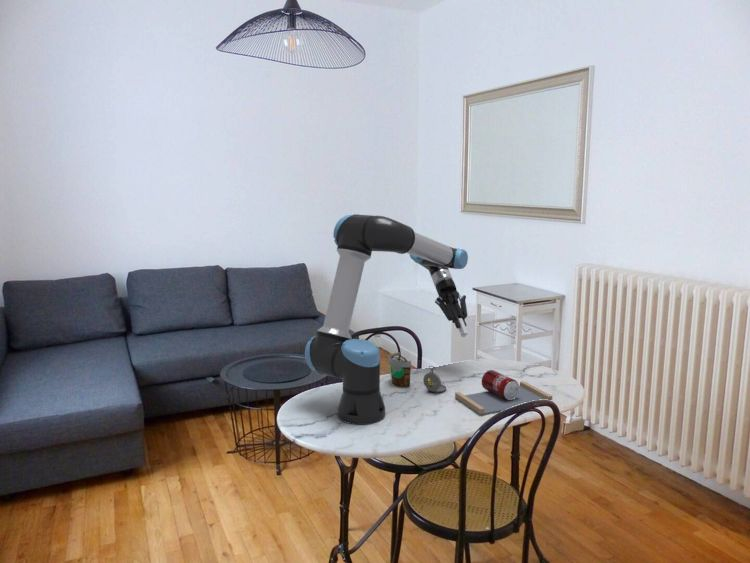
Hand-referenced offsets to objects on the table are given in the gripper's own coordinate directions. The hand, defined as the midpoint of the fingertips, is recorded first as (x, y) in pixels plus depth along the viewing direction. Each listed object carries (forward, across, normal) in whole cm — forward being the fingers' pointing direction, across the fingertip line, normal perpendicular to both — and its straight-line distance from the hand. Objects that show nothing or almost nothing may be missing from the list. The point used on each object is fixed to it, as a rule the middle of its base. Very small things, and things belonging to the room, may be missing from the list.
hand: (464, 334), depth 211 cm
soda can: (+20, +1, -2) cm, 20 cm away
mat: (+29, 0, -6) cm, 30 cm away
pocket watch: (+18, -16, +6) cm, 25 cm away
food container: (+9, -26, +15) cm, 31 cm away
